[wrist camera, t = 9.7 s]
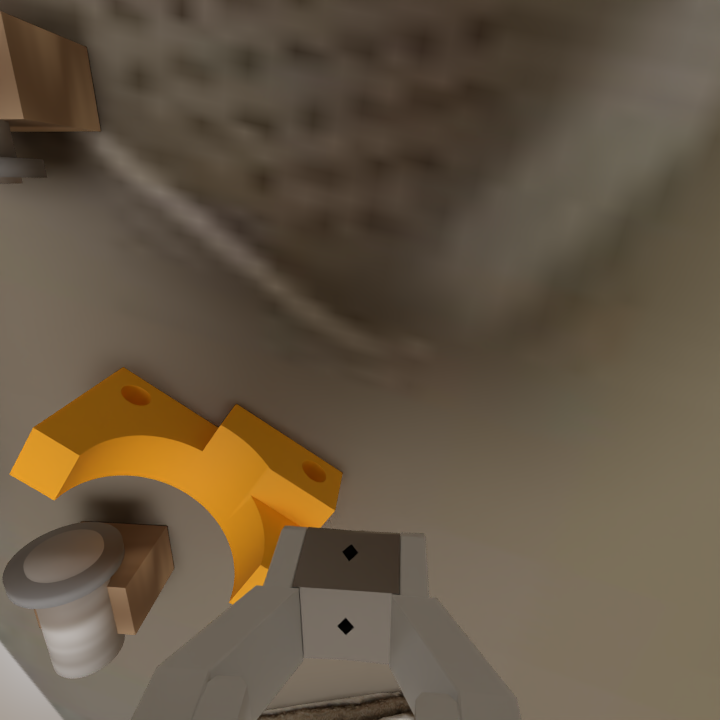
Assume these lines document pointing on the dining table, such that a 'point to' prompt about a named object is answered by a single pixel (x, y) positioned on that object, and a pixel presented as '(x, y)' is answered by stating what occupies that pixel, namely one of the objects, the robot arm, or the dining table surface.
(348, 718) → the washcloth
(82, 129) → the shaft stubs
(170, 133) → the dining table surface
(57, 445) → the pipe clamp
